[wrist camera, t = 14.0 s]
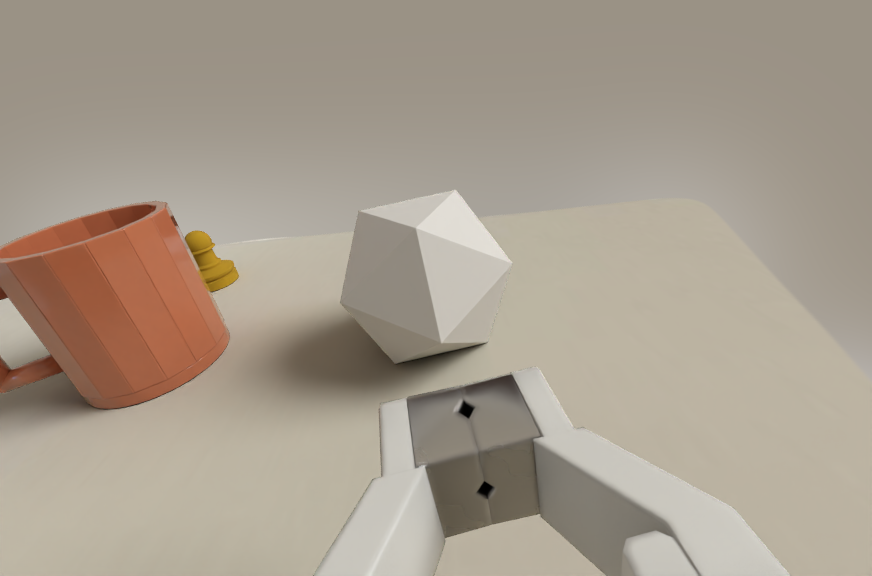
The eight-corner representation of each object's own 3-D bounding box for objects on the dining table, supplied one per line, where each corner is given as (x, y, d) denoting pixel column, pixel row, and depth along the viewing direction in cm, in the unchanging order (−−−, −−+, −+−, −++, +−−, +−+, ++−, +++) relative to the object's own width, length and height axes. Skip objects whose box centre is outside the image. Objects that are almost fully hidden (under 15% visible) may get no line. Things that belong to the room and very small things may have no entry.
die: (500, 296, 29) (397, 188, 28) (579, 278, 21) (436, 122, 20) (416, 391, 27) (299, 277, 26) (466, 415, 18) (295, 247, 17)
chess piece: (207, 296, 37) (181, 242, 34) (185, 289, 39) (159, 239, 37) (247, 275, 39) (225, 224, 37) (224, 270, 42) (202, 221, 39)
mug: (225, 310, 34) (168, 192, 29) (235, 364, 27) (162, 220, 22) (38, 379, 29) (-62, 253, 25) (-10, 466, 22) (-161, 312, 18)
